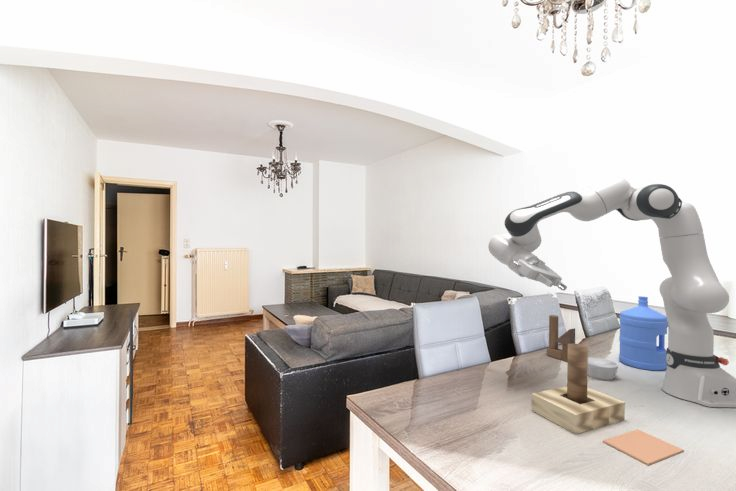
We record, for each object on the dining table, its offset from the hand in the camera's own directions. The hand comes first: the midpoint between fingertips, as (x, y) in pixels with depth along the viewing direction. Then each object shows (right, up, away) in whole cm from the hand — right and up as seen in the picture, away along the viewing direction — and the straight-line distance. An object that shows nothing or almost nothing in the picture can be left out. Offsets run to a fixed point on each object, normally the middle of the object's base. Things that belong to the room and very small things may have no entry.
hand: (558, 286), depth 113 cm
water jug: (+52, -36, +32) cm, 71 cm away
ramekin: (+26, -36, +19) cm, 48 cm away
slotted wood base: (-1, -36, -12) cm, 37 cm away
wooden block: (+22, -36, +38) cm, 57 cm away
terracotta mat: (+6, -36, -27) cm, 45 cm away
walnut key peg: (-1, -36, -12) cm, 37 cm away
